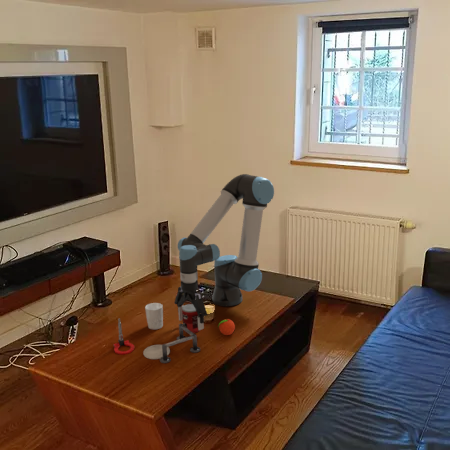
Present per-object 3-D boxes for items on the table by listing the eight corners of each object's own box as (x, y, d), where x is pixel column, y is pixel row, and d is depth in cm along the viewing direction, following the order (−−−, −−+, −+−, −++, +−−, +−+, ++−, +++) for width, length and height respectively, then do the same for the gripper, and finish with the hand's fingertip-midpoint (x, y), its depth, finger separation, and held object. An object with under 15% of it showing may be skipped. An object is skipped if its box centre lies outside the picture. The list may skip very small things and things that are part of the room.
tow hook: (137, 352, 231) (130, 342, 239) (134, 325, 227) (128, 315, 235) (117, 357, 228) (111, 346, 236) (114, 330, 223) (108, 320, 231)
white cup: (161, 330, 248) (159, 310, 245) (144, 329, 250) (142, 309, 247) (166, 322, 255) (164, 303, 252) (150, 321, 257) (148, 302, 254)
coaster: (162, 343, 237) (162, 342, 237) (174, 353, 228) (174, 352, 228) (139, 351, 231) (139, 349, 231) (150, 362, 222) (150, 360, 222)
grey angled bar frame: (183, 335, 243) (182, 321, 241) (202, 350, 229) (201, 335, 227) (145, 348, 233) (144, 333, 231) (162, 364, 220) (161, 349, 218)
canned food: (184, 325, 252) (182, 303, 249) (201, 325, 251) (200, 303, 248) (182, 333, 244) (180, 311, 241) (200, 333, 244) (199, 310, 241)
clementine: (221, 339, 238) (220, 325, 236) (214, 333, 244) (214, 318, 242) (237, 335, 241) (237, 320, 239) (231, 329, 247) (230, 314, 245)
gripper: (165, 275, 248) (167, 318, 253) (200, 290, 230) (202, 336, 236) (178, 271, 252) (180, 313, 258) (214, 285, 235) (215, 330, 240)
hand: (191, 324), depth 247 cm, fingers open, 13 cm apart
